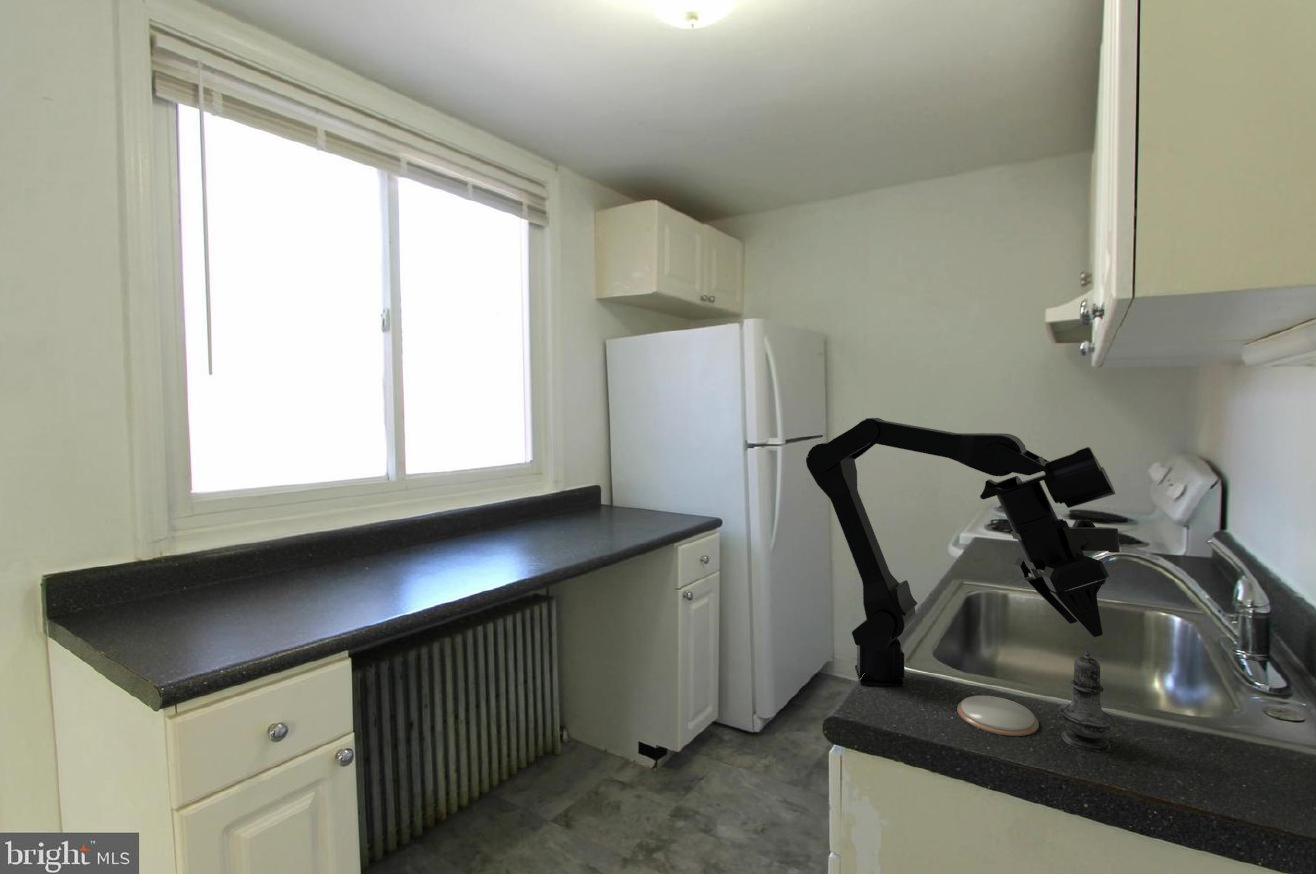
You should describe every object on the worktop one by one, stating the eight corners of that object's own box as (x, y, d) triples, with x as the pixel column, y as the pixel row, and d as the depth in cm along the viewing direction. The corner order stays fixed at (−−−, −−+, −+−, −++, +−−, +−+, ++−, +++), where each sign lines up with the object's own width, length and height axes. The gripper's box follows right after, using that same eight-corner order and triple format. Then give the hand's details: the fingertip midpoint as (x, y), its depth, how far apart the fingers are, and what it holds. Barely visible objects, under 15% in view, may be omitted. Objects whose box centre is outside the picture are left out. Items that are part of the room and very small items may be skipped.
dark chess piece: (1068, 750, 80) (1070, 657, 79) (1051, 727, 85) (1053, 640, 85) (1122, 756, 78) (1124, 661, 78) (1101, 732, 84) (1103, 644, 83)
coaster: (970, 733, 84) (970, 726, 84) (948, 698, 94) (948, 692, 94) (1051, 738, 82) (1052, 731, 82) (1020, 703, 92) (1021, 696, 92)
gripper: (1122, 498, 77) (1186, 623, 73) (1070, 498, 94) (1121, 599, 91) (1027, 529, 79) (1085, 652, 76) (995, 524, 97) (1041, 623, 94)
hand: (1085, 629), depth 84 cm, fingers open, 9 cm apart
